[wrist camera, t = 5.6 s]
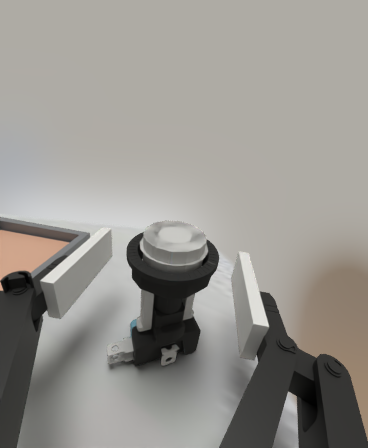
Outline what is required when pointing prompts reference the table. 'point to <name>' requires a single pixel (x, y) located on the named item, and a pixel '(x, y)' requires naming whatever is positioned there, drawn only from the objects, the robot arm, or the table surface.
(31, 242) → the sorting tray
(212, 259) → the push button
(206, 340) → the table surface
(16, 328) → the robot arm
